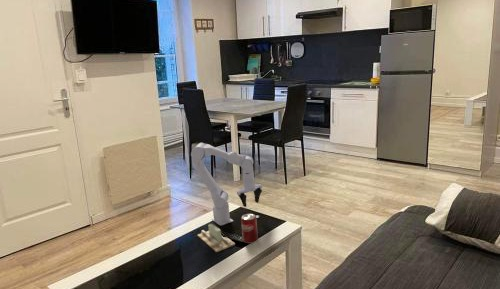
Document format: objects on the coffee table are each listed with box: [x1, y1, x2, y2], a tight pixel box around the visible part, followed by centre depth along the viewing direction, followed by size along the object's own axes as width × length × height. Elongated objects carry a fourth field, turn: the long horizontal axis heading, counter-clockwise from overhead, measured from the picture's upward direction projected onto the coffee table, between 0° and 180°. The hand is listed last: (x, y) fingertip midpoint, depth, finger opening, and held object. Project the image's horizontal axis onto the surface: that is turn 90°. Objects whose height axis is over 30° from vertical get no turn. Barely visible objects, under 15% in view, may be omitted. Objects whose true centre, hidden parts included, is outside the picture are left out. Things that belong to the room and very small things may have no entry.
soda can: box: [240, 213, 259, 244], centre depth 174 cm, size 7×7×12 cm
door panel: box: [207, 223, 222, 242], centre depth 176 cm, size 9×2×6 cm, turn 33°
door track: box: [197, 229, 236, 253], centre depth 177 cm, size 20×10×2 cm, turn 33°
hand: (250, 204), depth 193 cm, fingers open, 7 cm apart
